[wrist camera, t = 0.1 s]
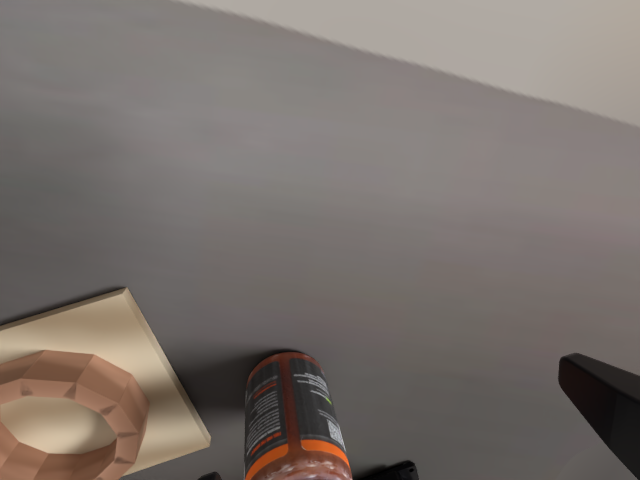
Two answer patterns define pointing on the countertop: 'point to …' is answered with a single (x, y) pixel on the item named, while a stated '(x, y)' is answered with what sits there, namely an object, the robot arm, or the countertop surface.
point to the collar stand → (90, 395)
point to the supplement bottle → (292, 423)
